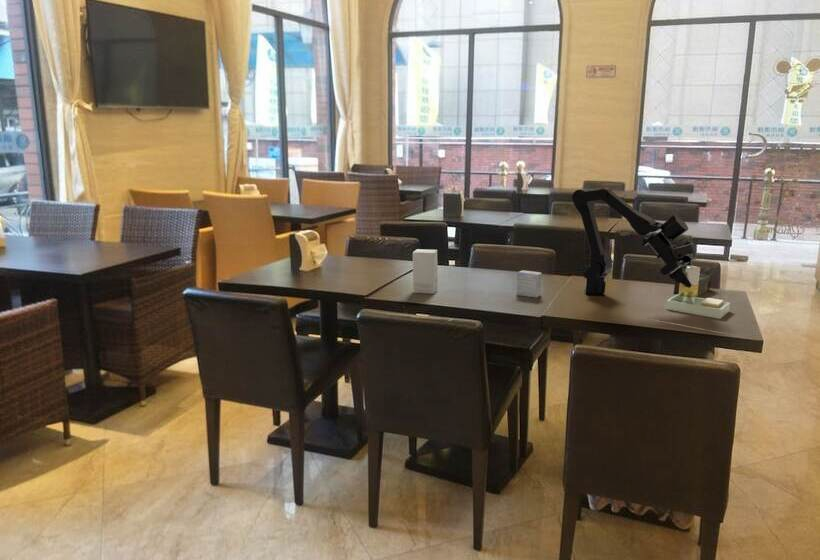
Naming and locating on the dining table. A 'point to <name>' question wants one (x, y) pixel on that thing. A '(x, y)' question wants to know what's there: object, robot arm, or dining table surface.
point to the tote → (697, 307)
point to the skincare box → (425, 271)
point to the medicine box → (529, 283)
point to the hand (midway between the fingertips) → (693, 284)
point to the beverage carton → (702, 287)
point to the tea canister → (691, 292)
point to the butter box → (713, 303)
